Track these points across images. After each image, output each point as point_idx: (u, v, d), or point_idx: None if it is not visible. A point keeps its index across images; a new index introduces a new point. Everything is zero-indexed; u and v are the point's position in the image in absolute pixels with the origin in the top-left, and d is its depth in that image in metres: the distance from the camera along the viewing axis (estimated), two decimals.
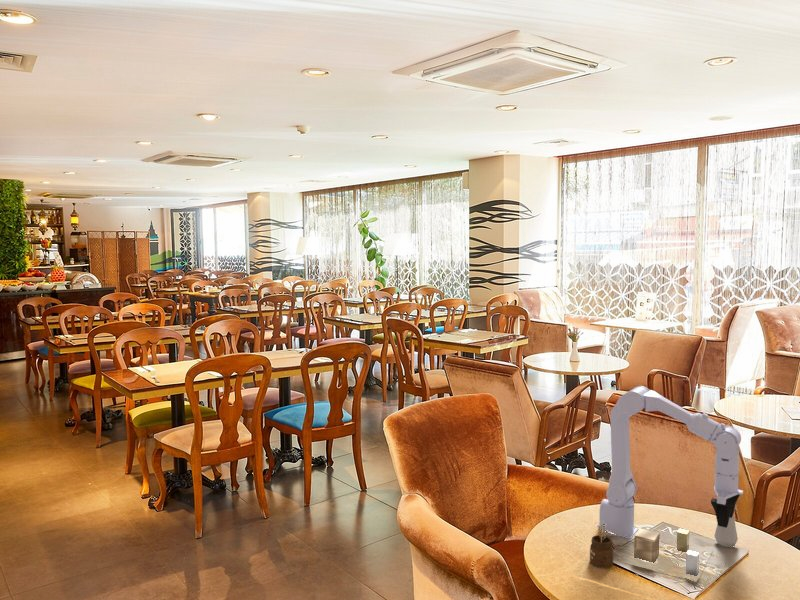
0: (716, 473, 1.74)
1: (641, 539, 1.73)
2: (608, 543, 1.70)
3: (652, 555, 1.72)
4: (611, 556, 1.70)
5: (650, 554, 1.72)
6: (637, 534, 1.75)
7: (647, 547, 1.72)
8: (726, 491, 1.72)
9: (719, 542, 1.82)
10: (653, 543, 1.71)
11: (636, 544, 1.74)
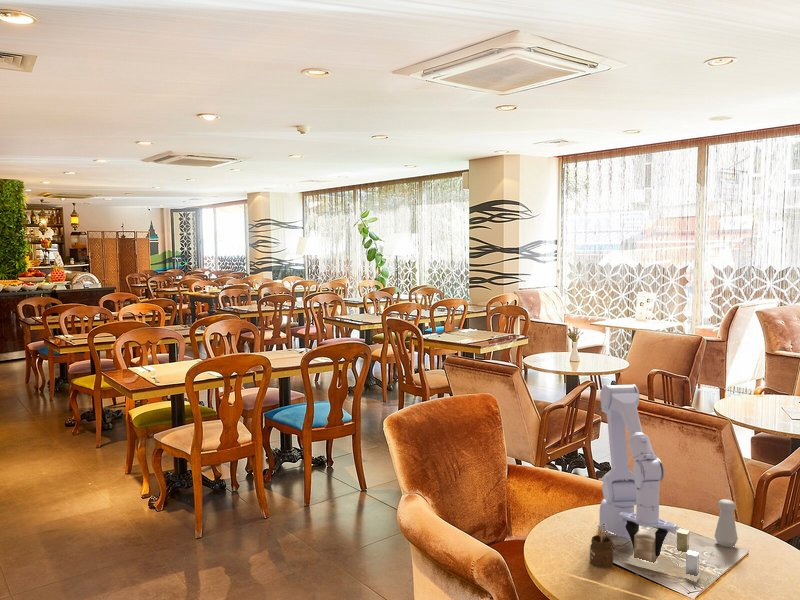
0: None
1: (641, 539, 1.73)
2: (608, 543, 1.70)
3: (652, 555, 1.72)
4: (611, 556, 1.70)
5: (650, 554, 1.72)
6: (637, 534, 1.75)
7: (647, 547, 1.72)
8: (636, 516, 1.76)
9: (719, 542, 1.82)
10: (653, 543, 1.71)
11: (636, 544, 1.74)
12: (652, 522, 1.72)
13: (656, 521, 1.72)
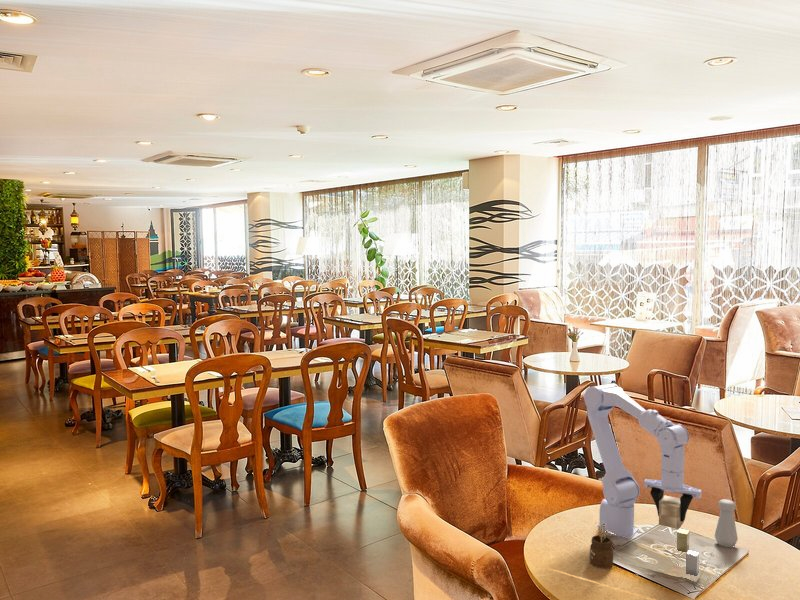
0: None
1: (666, 505, 1.75)
2: (608, 543, 1.70)
3: (677, 520, 1.74)
4: (611, 556, 1.70)
5: (675, 519, 1.74)
6: (662, 500, 1.76)
7: (672, 512, 1.74)
8: (660, 482, 1.78)
9: (719, 542, 1.82)
10: (678, 508, 1.73)
11: (661, 510, 1.76)
12: (677, 487, 1.73)
13: (681, 486, 1.74)
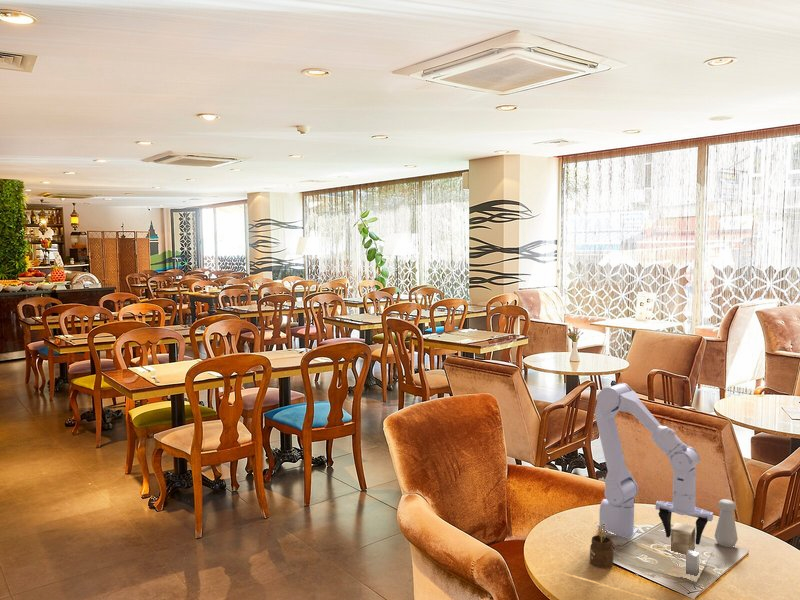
0: None
1: (678, 532, 1.77)
2: (608, 543, 1.70)
3: (689, 548, 1.76)
4: (611, 556, 1.70)
5: (687, 546, 1.76)
6: (673, 527, 1.78)
7: (684, 540, 1.76)
8: (672, 505, 1.79)
9: (719, 542, 1.82)
10: (690, 536, 1.75)
11: (673, 537, 1.78)
12: (689, 510, 1.75)
13: (693, 509, 1.76)
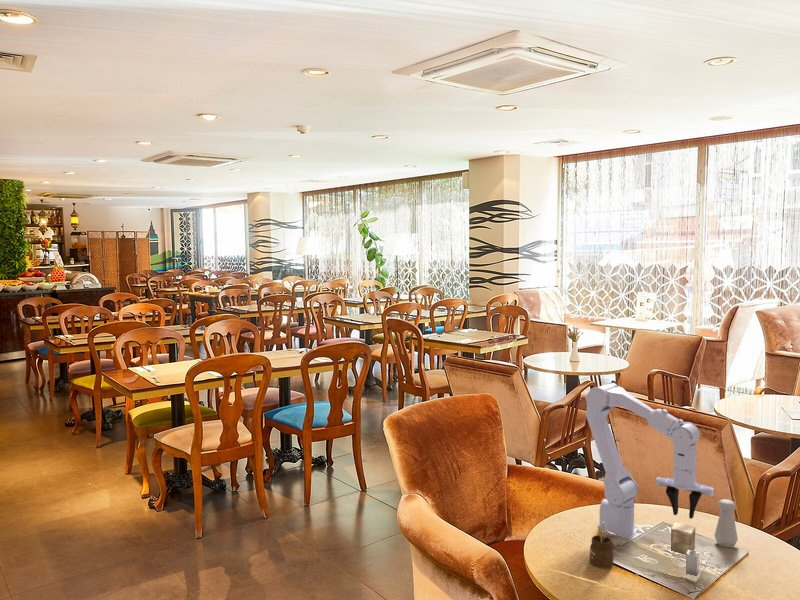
0: None
1: (678, 532, 1.77)
2: (608, 543, 1.70)
3: (689, 548, 1.76)
4: (611, 556, 1.70)
5: (687, 546, 1.76)
6: (673, 527, 1.78)
7: (684, 540, 1.76)
8: (673, 481, 1.79)
9: (719, 542, 1.82)
10: (690, 536, 1.75)
11: (673, 537, 1.78)
12: (690, 485, 1.75)
13: (693, 485, 1.75)
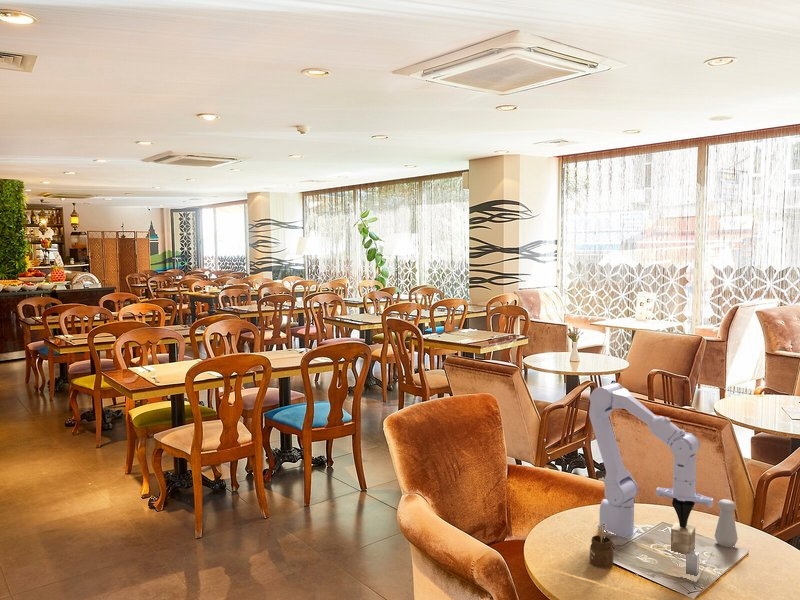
0: None
1: (678, 532, 1.77)
2: (608, 543, 1.70)
3: (689, 548, 1.76)
4: (611, 556, 1.70)
5: (687, 546, 1.76)
6: (673, 527, 1.78)
7: (684, 540, 1.76)
8: (672, 491, 1.79)
9: (719, 542, 1.82)
10: (690, 536, 1.75)
11: (673, 537, 1.78)
12: (689, 496, 1.75)
13: (693, 495, 1.75)
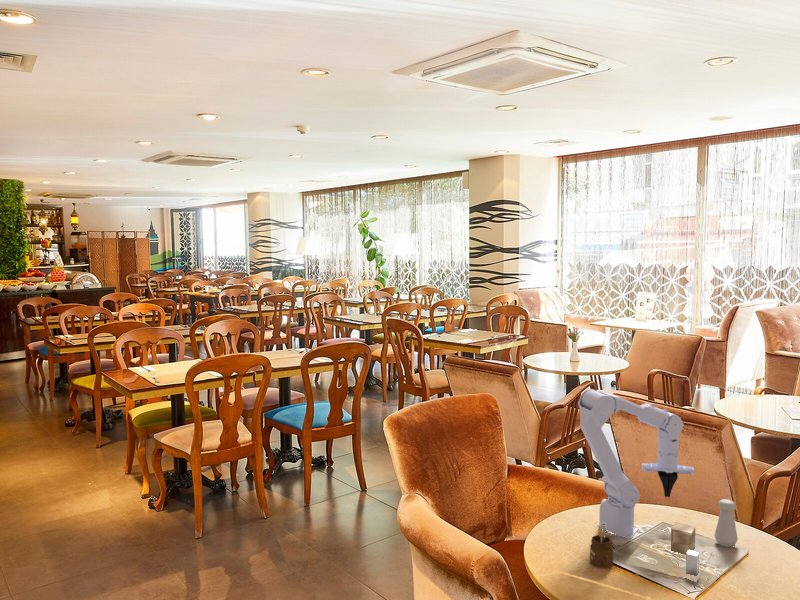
0: None
1: (678, 532, 1.77)
2: (608, 543, 1.70)
3: (689, 548, 1.76)
4: (611, 556, 1.70)
5: (687, 546, 1.76)
6: (673, 527, 1.78)
7: (684, 540, 1.76)
8: (657, 465, 1.95)
9: (719, 542, 1.82)
10: (690, 536, 1.75)
11: (673, 537, 1.78)
12: (675, 468, 1.92)
13: (677, 466, 1.93)
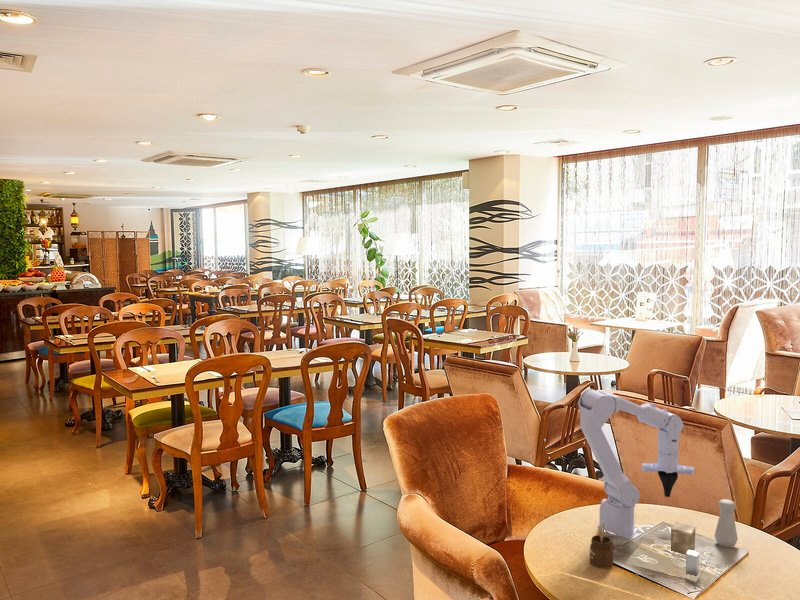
0: None
1: (678, 532, 1.77)
2: (608, 543, 1.70)
3: (689, 548, 1.76)
4: (611, 556, 1.70)
5: (687, 546, 1.76)
6: (673, 527, 1.78)
7: (684, 540, 1.76)
8: (657, 465, 1.95)
9: (719, 542, 1.82)
10: (690, 536, 1.75)
11: (673, 537, 1.78)
12: (675, 468, 1.92)
13: (677, 466, 1.93)
